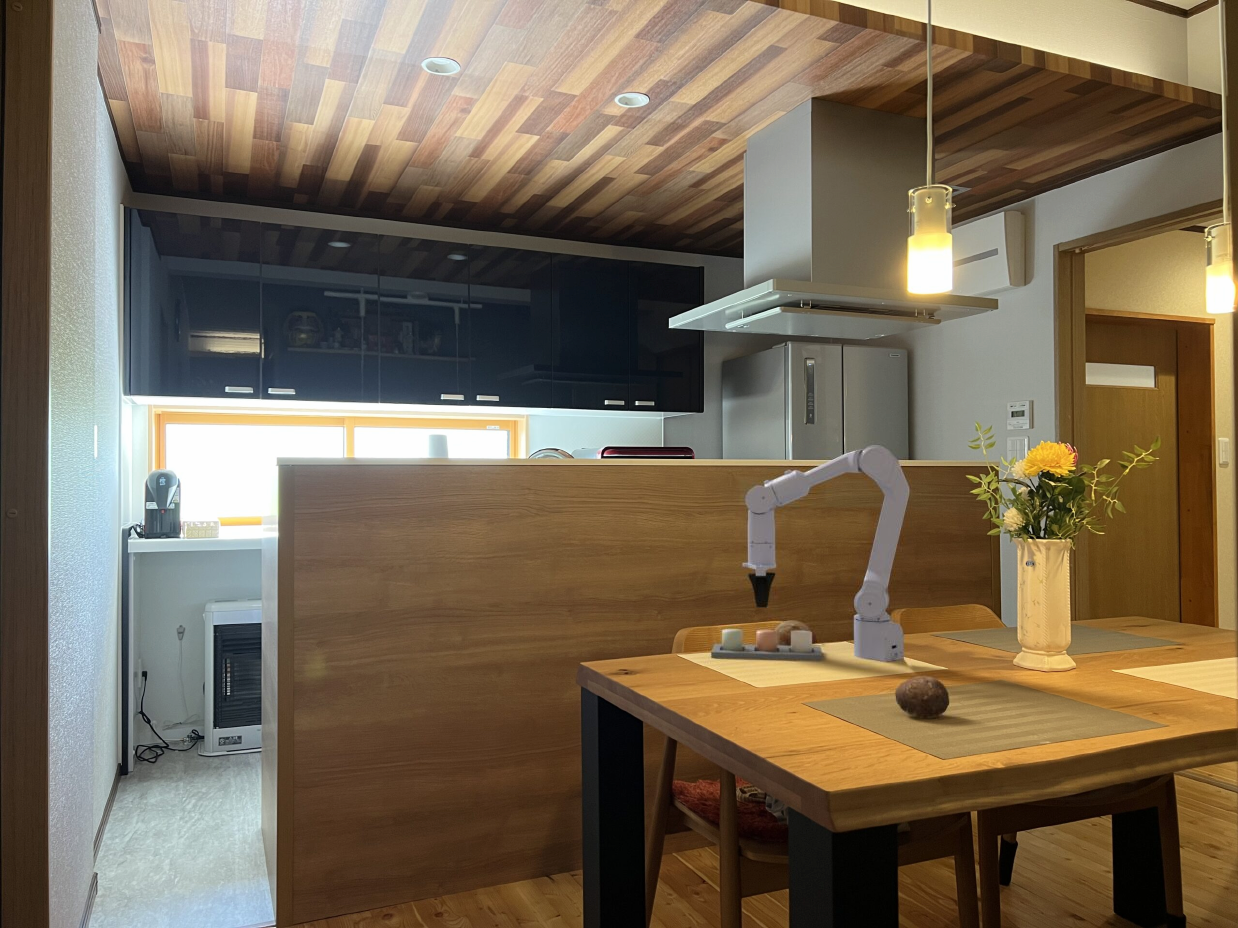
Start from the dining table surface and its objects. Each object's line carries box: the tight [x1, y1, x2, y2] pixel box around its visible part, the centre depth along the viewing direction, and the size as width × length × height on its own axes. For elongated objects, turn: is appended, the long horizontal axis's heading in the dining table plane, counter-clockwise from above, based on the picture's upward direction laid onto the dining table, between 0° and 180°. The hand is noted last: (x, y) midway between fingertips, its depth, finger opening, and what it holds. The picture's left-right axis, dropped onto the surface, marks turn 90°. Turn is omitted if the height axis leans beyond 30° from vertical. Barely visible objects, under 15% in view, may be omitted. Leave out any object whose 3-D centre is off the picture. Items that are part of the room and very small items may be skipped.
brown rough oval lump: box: [894, 675, 950, 719], centre depth 148 cm, size 8×8×6 cm
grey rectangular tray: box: [710, 643, 824, 662], centre depth 192 cm, size 22×10×2 cm, turn 80°
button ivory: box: [791, 631, 813, 653], centre depth 191 cm, size 4×4×5 cm
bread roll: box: [774, 620, 818, 646], centre depth 209 cm, size 10×10×8 cm
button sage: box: [721, 628, 744, 651], centre depth 194 cm, size 4×4×5 cm
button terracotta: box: [755, 629, 778, 652], centre depth 192 cm, size 4×4×5 cm
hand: (761, 607), depth 199 cm, fingers closed
